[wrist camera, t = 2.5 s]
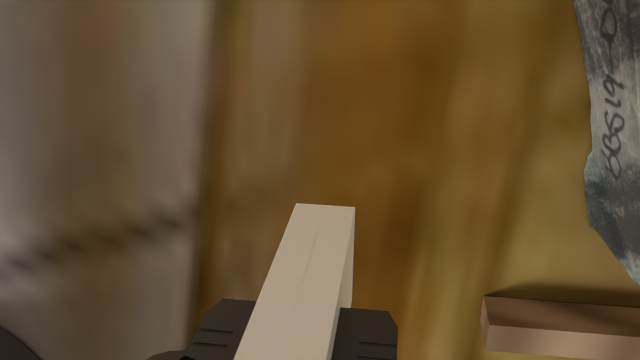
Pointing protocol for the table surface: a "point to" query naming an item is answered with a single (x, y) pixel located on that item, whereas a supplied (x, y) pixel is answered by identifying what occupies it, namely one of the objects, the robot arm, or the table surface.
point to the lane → (560, 329)
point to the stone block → (613, 124)
